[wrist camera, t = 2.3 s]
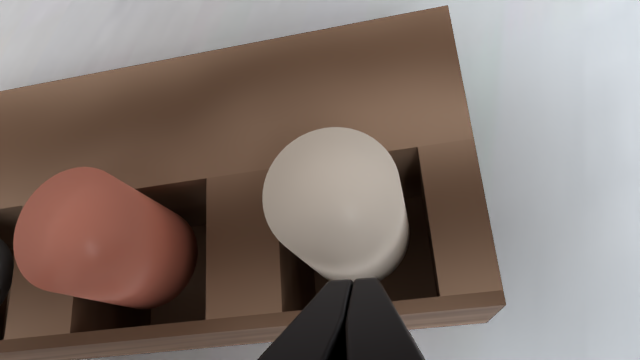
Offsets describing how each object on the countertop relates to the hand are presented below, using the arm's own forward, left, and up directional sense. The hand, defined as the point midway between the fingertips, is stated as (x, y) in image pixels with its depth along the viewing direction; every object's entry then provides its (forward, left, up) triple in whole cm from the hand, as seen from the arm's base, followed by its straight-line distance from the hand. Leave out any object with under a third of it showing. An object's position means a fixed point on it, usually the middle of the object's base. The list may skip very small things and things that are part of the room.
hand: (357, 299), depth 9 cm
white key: (+3, +1, -7) cm, 8 cm away
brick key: (+3, +8, -7) cm, 11 cm away
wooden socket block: (+5, +8, -12) cm, 15 cm away
